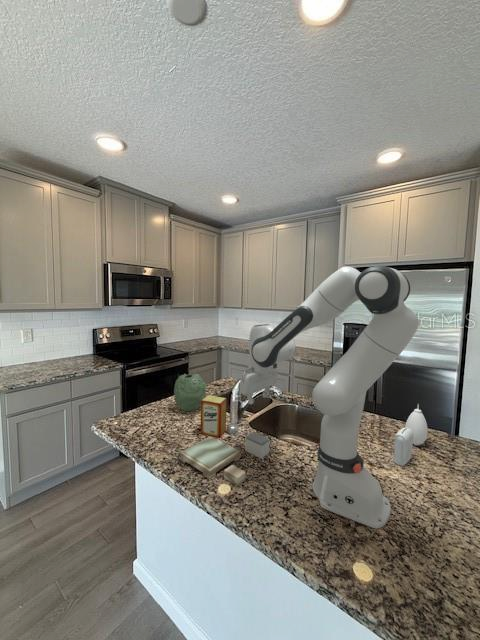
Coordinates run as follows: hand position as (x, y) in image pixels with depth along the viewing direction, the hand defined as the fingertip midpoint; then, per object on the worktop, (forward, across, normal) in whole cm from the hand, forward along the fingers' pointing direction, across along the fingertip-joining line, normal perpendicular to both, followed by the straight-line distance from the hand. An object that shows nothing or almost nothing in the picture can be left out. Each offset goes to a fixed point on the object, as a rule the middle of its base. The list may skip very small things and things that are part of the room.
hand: (258, 400), depth 106 cm
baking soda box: (+22, -1, +23) cm, 32 cm away
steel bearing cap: (+21, +5, +18) cm, 28 cm away
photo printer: (+21, +34, -45) cm, 60 cm away
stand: (+21, -16, +10) cm, 28 cm away
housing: (+21, 0, 0) cm, 21 cm away
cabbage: (+22, +7, +50) cm, 55 cm away
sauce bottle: (+21, +51, -47) cm, 73 cm away
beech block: (+21, -18, -4) cm, 28 cm away
